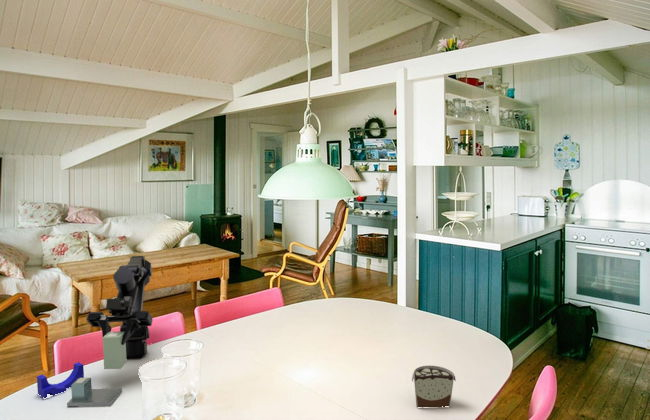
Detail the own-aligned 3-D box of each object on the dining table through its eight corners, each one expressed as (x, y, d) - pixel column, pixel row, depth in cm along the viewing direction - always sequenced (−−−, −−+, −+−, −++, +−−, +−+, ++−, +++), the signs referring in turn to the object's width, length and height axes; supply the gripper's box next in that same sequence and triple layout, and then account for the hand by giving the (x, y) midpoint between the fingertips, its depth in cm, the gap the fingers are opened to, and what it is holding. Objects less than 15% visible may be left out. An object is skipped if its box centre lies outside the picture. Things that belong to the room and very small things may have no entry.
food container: (448, 396, 131) (449, 364, 130) (455, 407, 125) (456, 373, 124) (407, 397, 130) (407, 364, 130) (411, 408, 124) (412, 374, 123)
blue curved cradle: (44, 400, 129) (43, 380, 128) (37, 395, 131) (36, 376, 131) (86, 384, 138) (85, 365, 138) (79, 380, 141) (78, 362, 140)
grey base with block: (67, 407, 125) (66, 387, 124) (81, 393, 132) (80, 374, 132) (110, 405, 125) (109, 386, 125) (121, 391, 133) (121, 373, 133)
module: (104, 369, 134) (102, 336, 133) (110, 362, 139) (108, 331, 138) (120, 368, 135) (119, 336, 134) (126, 362, 139) (125, 330, 138)
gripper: (87, 287, 138) (71, 334, 129) (148, 286, 140) (137, 333, 130) (99, 303, 147) (85, 349, 137) (157, 303, 148) (147, 348, 138)
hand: (113, 344), depth 135 cm, fingers closed on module, 5 cm apart
